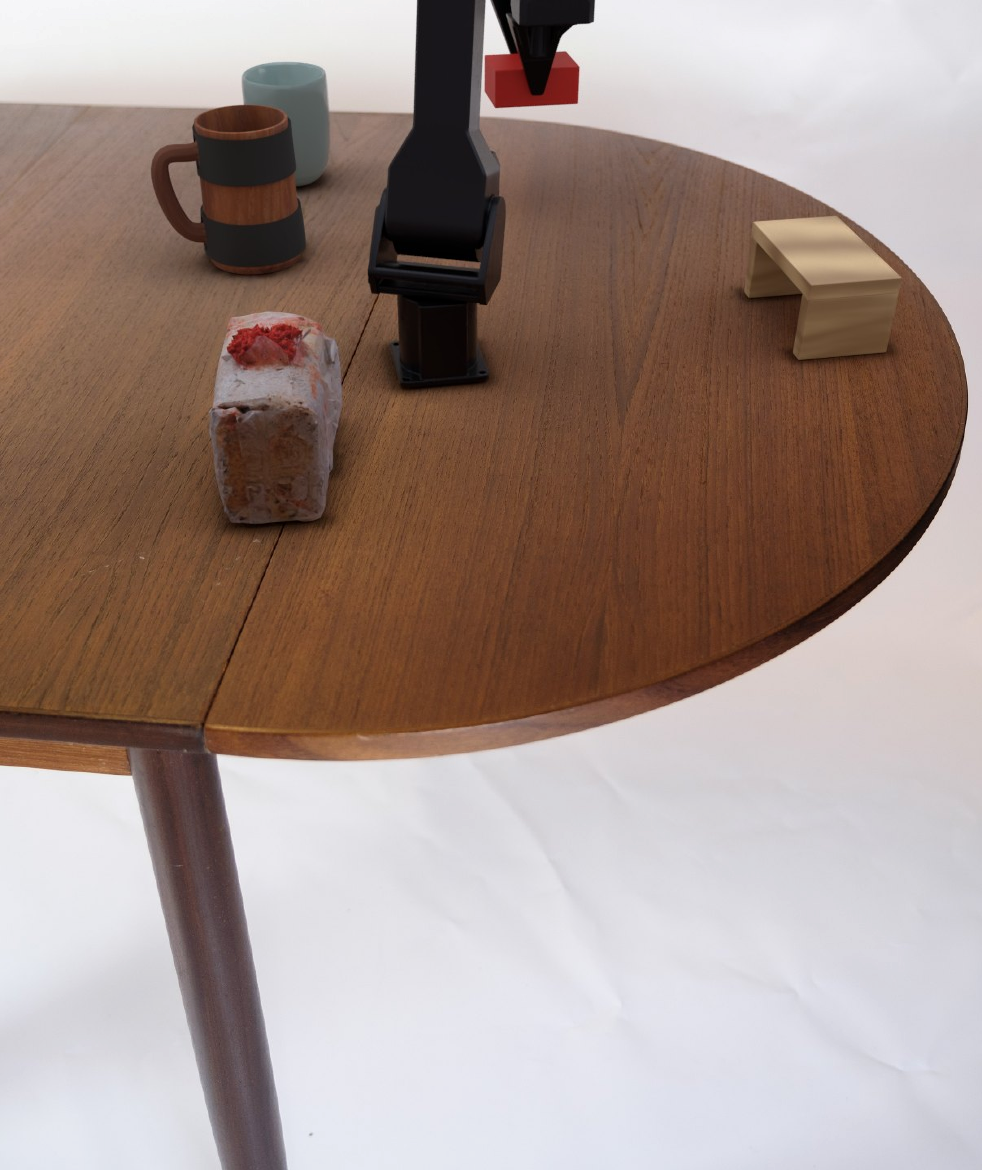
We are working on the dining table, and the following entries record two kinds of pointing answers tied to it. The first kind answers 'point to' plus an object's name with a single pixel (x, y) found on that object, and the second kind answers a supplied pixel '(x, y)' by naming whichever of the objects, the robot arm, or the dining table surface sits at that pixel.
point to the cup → (296, 109)
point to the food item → (275, 418)
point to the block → (512, 88)
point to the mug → (239, 189)
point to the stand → (825, 284)
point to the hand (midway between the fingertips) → (530, 86)
